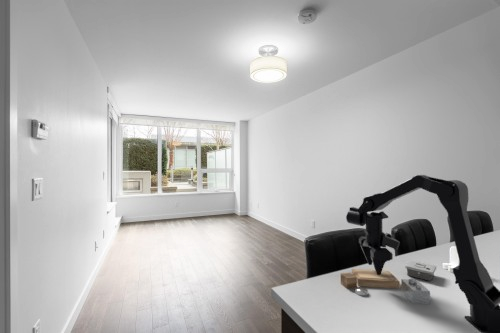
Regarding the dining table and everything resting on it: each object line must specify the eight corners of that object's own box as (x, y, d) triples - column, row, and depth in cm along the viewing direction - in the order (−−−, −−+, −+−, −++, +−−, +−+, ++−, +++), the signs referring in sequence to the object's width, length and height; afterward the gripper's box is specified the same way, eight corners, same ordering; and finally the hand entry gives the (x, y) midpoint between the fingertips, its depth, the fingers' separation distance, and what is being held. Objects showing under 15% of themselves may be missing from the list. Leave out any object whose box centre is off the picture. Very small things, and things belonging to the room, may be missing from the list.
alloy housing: (430, 305, 78) (430, 288, 78) (413, 304, 78) (412, 287, 78) (417, 292, 85) (416, 277, 85) (401, 291, 86) (401, 276, 86)
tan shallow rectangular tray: (399, 288, 88) (399, 280, 88) (358, 285, 90) (358, 278, 90) (389, 277, 97) (389, 270, 97) (351, 275, 99) (351, 268, 99)
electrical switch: (434, 273, 92) (405, 261, 98) (430, 285, 92) (402, 274, 98) (437, 265, 98) (410, 255, 105) (434, 277, 99) (408, 267, 105)
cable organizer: (442, 267, 106) (441, 244, 106) (466, 268, 105) (466, 245, 105) (450, 272, 101) (450, 248, 101) (476, 273, 100) (476, 249, 100)
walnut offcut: (356, 288, 89) (356, 277, 89) (346, 289, 88) (346, 278, 88) (350, 283, 92) (350, 272, 92) (340, 284, 92) (340, 273, 92)
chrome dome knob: (369, 297, 82) (369, 293, 82) (356, 296, 83) (356, 292, 83) (365, 291, 86) (365, 287, 86) (353, 290, 87) (353, 286, 87)
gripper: (408, 236, 83) (409, 282, 83) (386, 223, 102) (387, 261, 101) (373, 234, 85) (374, 280, 85) (358, 222, 103) (358, 259, 103)
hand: (374, 269), depth 93 cm, fingers open, 9 cm apart
